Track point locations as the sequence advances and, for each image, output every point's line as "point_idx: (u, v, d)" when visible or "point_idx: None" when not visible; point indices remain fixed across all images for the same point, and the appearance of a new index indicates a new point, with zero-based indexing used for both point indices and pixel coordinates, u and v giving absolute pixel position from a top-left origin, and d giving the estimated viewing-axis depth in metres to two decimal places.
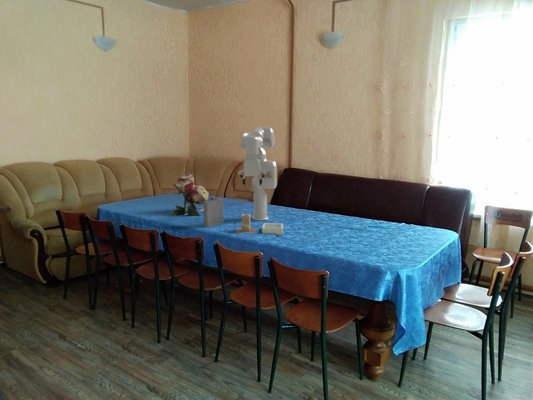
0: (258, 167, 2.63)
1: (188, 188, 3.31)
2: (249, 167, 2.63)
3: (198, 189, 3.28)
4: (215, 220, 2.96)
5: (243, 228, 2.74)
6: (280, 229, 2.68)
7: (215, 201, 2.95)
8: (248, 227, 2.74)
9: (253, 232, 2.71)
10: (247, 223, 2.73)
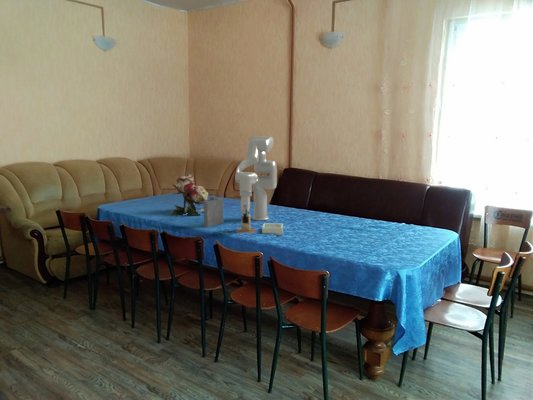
0: None
1: (188, 188, 3.31)
2: (249, 203, 2.72)
3: (198, 189, 3.28)
4: (215, 220, 2.96)
5: (243, 228, 2.74)
6: (280, 229, 2.68)
7: (215, 201, 2.95)
8: (248, 227, 2.74)
9: (253, 232, 2.71)
10: (247, 223, 2.73)
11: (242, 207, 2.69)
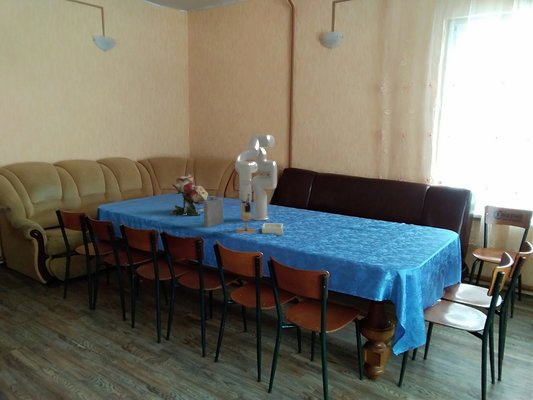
0: None
1: (187, 188, 3.31)
2: None
3: (197, 189, 3.28)
4: (215, 220, 2.96)
5: (245, 217, 2.73)
6: (280, 229, 2.68)
7: (215, 201, 2.95)
8: (250, 216, 2.74)
9: (253, 232, 2.71)
10: (249, 212, 2.73)
11: (246, 196, 2.68)
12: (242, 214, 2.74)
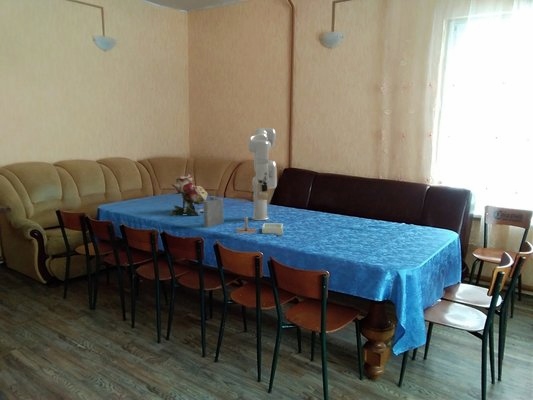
0: None
1: (187, 188, 3.31)
2: None
3: (197, 189, 3.28)
4: (215, 220, 2.96)
5: (262, 197, 2.69)
6: (280, 229, 2.68)
7: (215, 201, 2.95)
8: (266, 195, 2.70)
9: (253, 232, 2.71)
10: (266, 191, 2.69)
11: (263, 175, 2.64)
12: (258, 194, 2.70)
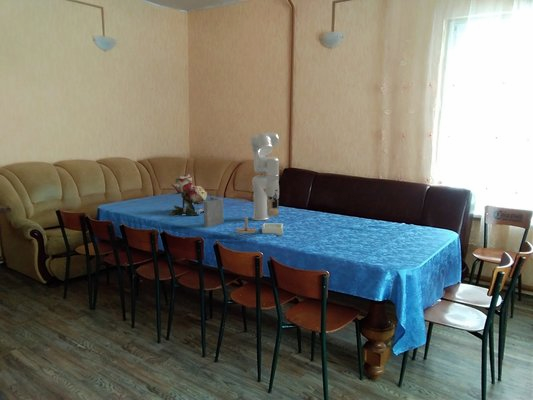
0: None
1: (186, 188, 3.30)
2: None
3: (196, 189, 3.28)
4: (215, 220, 2.96)
5: (272, 213, 2.70)
6: (280, 229, 2.68)
7: (215, 201, 2.95)
8: (276, 212, 2.71)
9: (253, 232, 2.71)
10: (276, 208, 2.71)
11: (274, 192, 2.65)
12: (269, 210, 2.71)
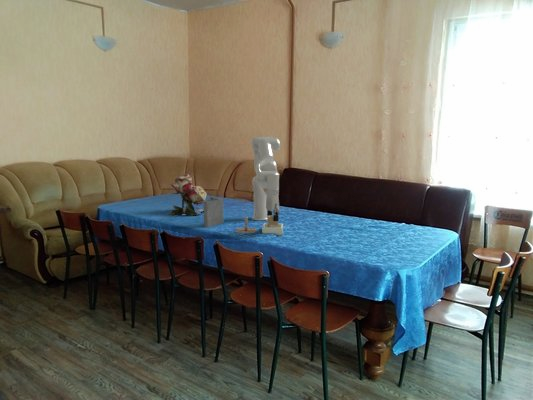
0: None
1: (186, 188, 3.30)
2: None
3: (196, 189, 3.27)
4: (215, 220, 2.96)
5: None
6: (280, 229, 2.68)
7: (215, 201, 2.95)
8: None
9: (253, 232, 2.71)
10: (276, 224, 2.73)
11: (274, 206, 2.67)
12: (269, 226, 2.74)
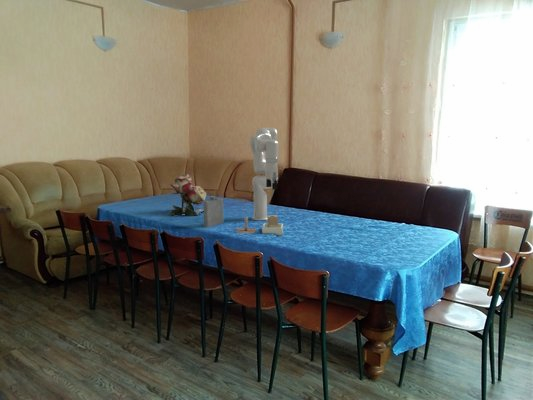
0: None
1: (186, 188, 3.30)
2: None
3: (196, 189, 3.27)
4: (215, 220, 2.96)
5: None
6: (280, 229, 2.68)
7: (215, 201, 2.95)
8: None
9: (253, 232, 2.71)
10: (276, 224, 2.73)
11: (272, 174, 2.65)
12: (269, 226, 2.74)
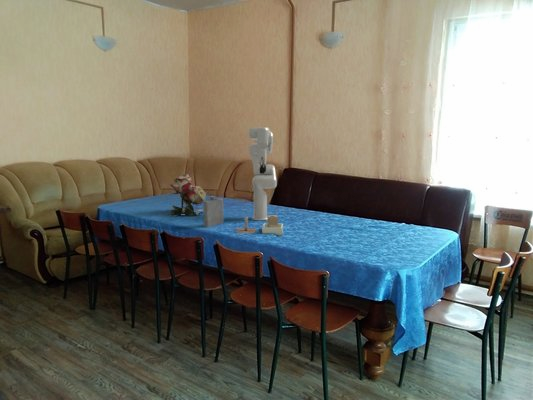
0: None
1: (185, 188, 3.30)
2: (266, 155, 2.85)
3: (195, 189, 3.27)
4: (215, 220, 2.96)
5: None
6: (280, 229, 2.68)
7: (215, 201, 2.95)
8: None
9: (253, 232, 2.71)
10: (276, 224, 2.73)
11: (259, 159, 2.82)
12: (269, 226, 2.74)
